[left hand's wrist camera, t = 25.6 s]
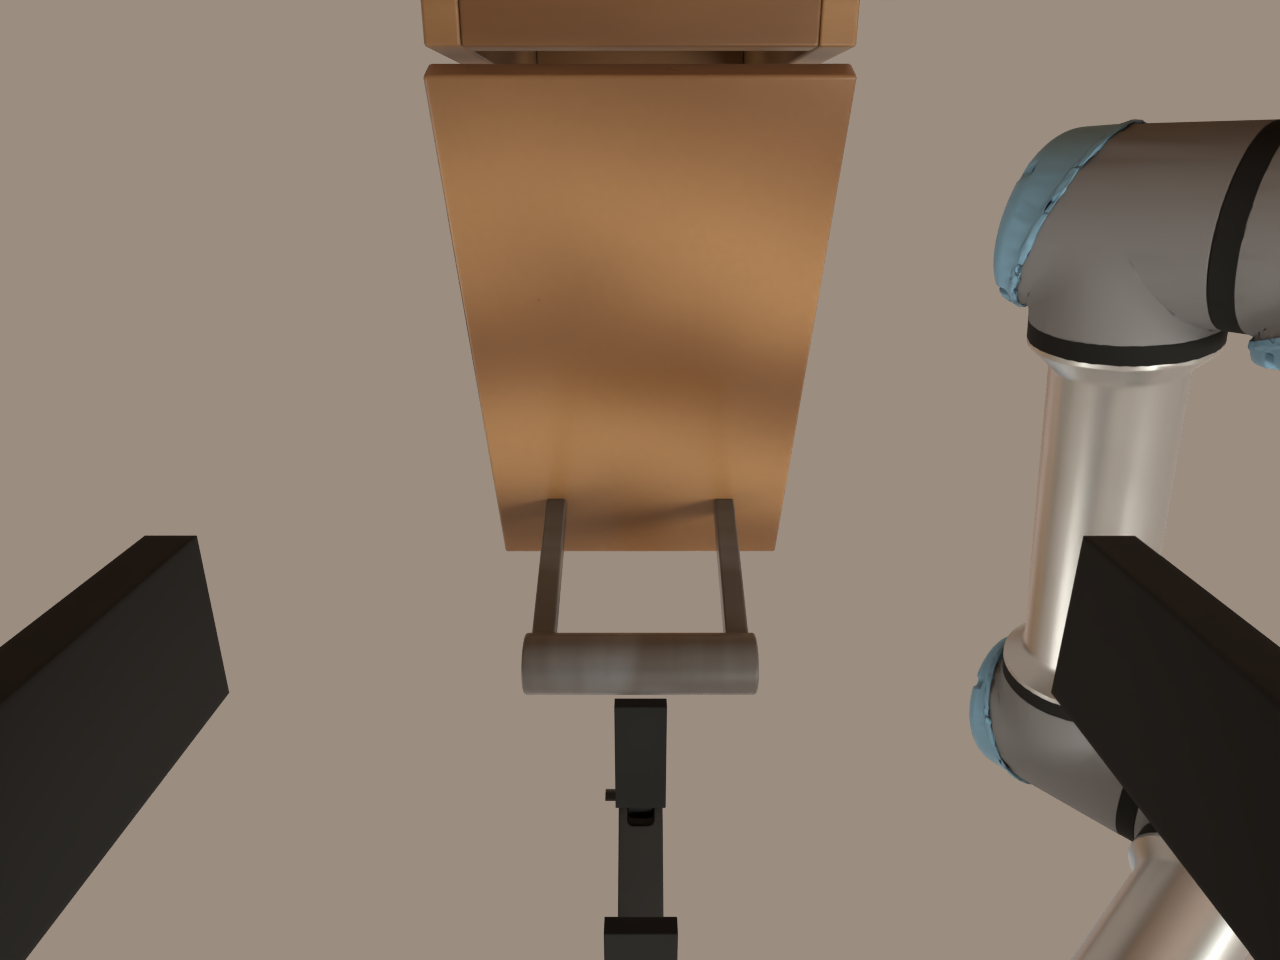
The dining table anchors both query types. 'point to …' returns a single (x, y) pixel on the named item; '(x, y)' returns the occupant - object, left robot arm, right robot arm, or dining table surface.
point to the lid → (640, 323)
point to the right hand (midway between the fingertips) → (640, 794)
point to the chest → (640, 31)
